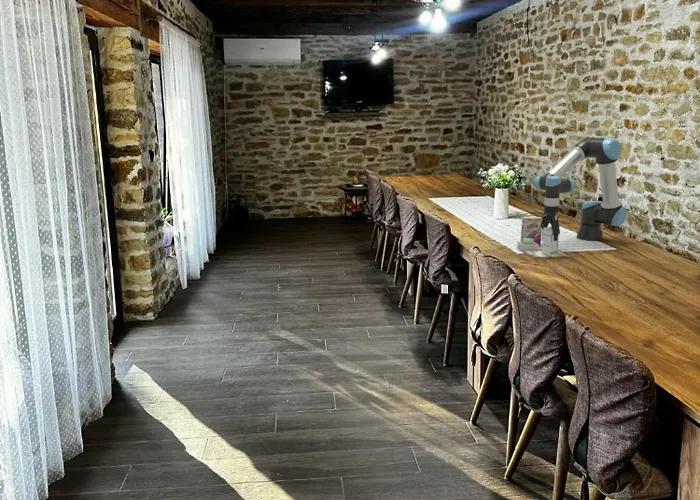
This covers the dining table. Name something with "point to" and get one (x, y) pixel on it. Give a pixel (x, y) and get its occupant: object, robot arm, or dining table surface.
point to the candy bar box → (531, 229)
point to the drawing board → (545, 255)
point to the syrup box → (549, 242)
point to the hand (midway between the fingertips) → (548, 243)
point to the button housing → (527, 247)
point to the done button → (528, 241)
